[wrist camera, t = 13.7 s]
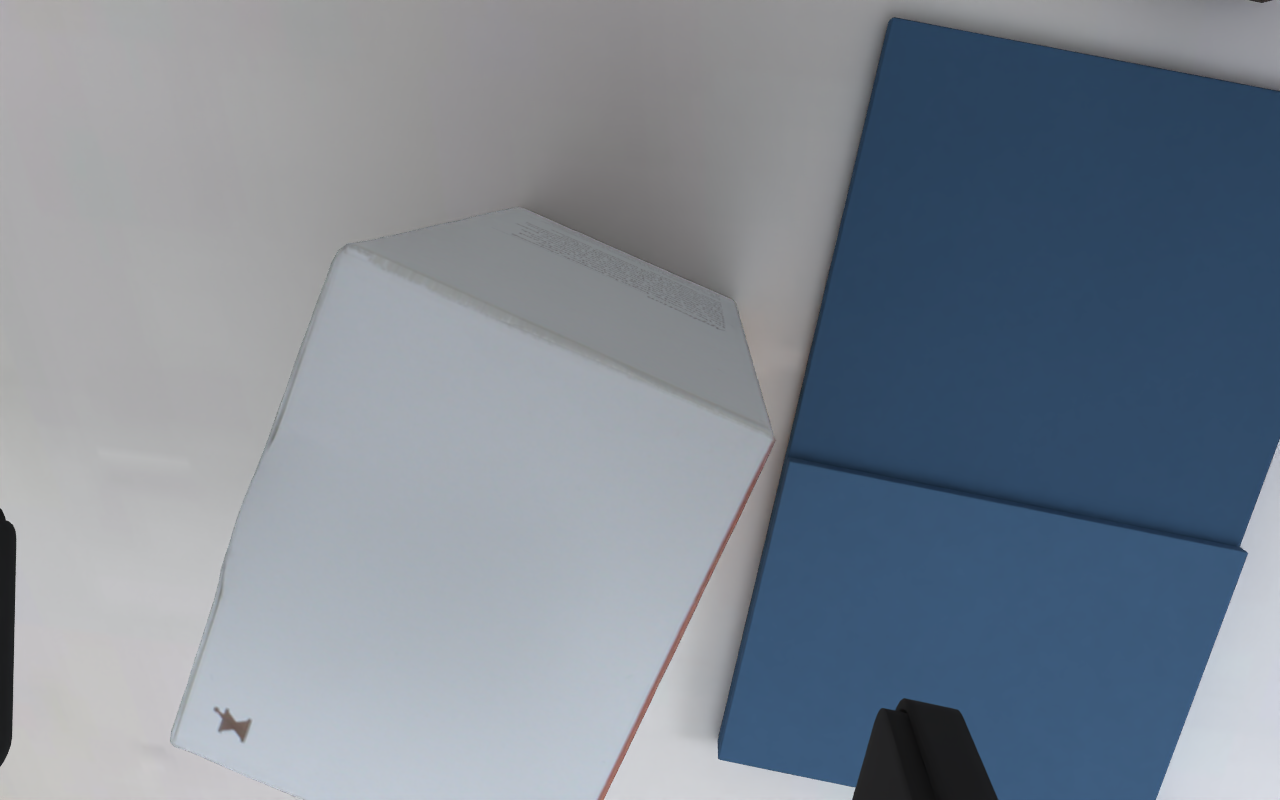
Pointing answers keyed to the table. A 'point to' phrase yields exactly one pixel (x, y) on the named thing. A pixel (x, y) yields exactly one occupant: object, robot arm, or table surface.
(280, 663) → the small box
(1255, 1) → the cleaver
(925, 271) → the cloth
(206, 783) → the table surface
